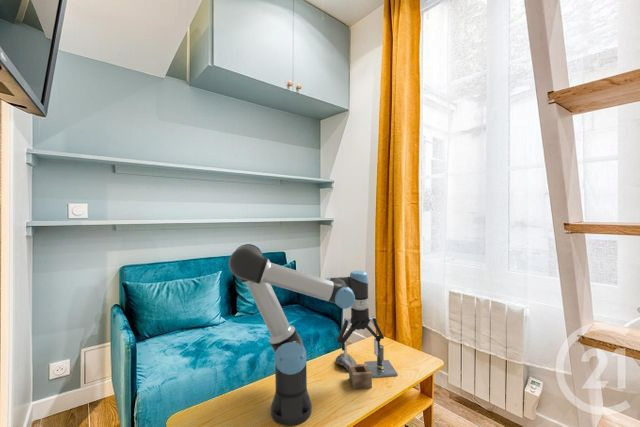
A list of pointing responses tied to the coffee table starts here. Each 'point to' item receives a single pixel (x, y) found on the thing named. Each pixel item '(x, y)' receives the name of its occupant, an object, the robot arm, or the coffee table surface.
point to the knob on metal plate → (381, 366)
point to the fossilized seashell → (345, 361)
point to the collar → (360, 376)
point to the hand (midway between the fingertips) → (360, 356)
